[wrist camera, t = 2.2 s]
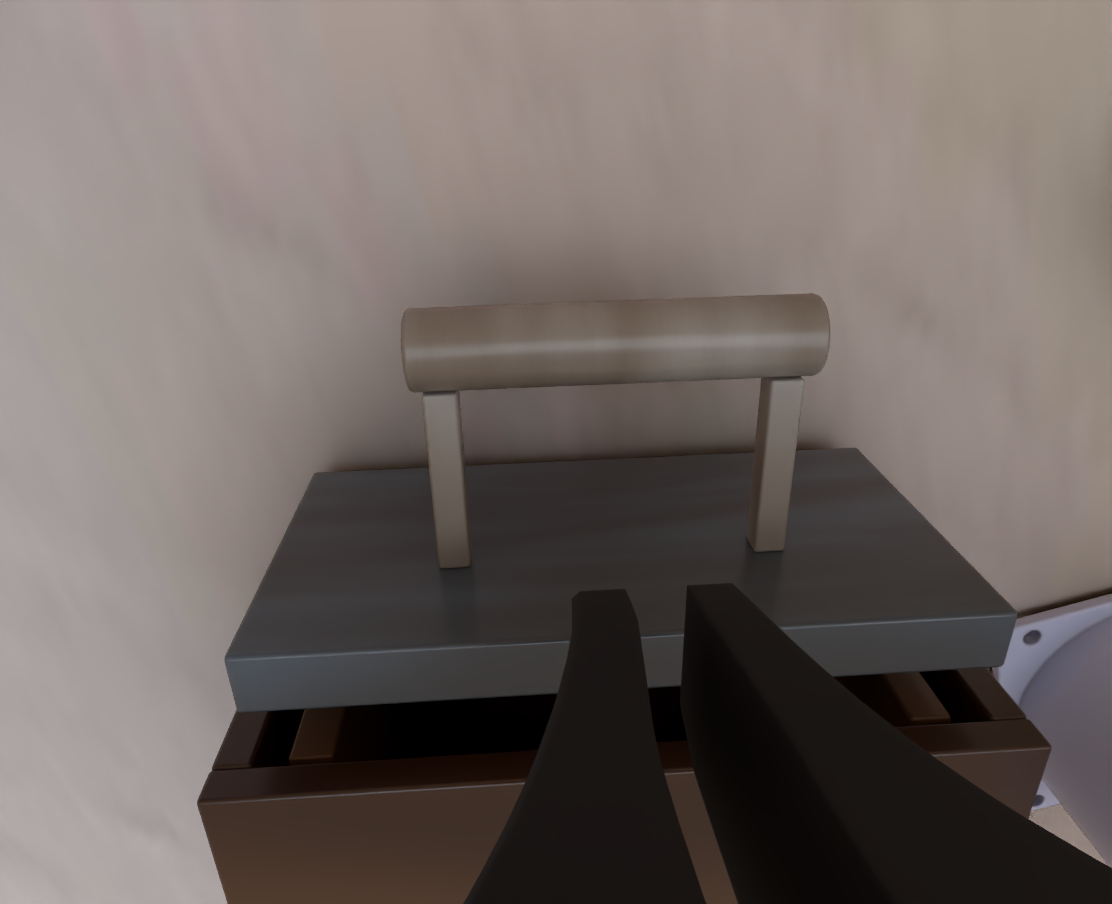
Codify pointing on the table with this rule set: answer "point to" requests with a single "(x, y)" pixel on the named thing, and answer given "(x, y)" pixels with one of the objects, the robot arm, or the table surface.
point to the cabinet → (500, 804)
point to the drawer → (595, 544)
